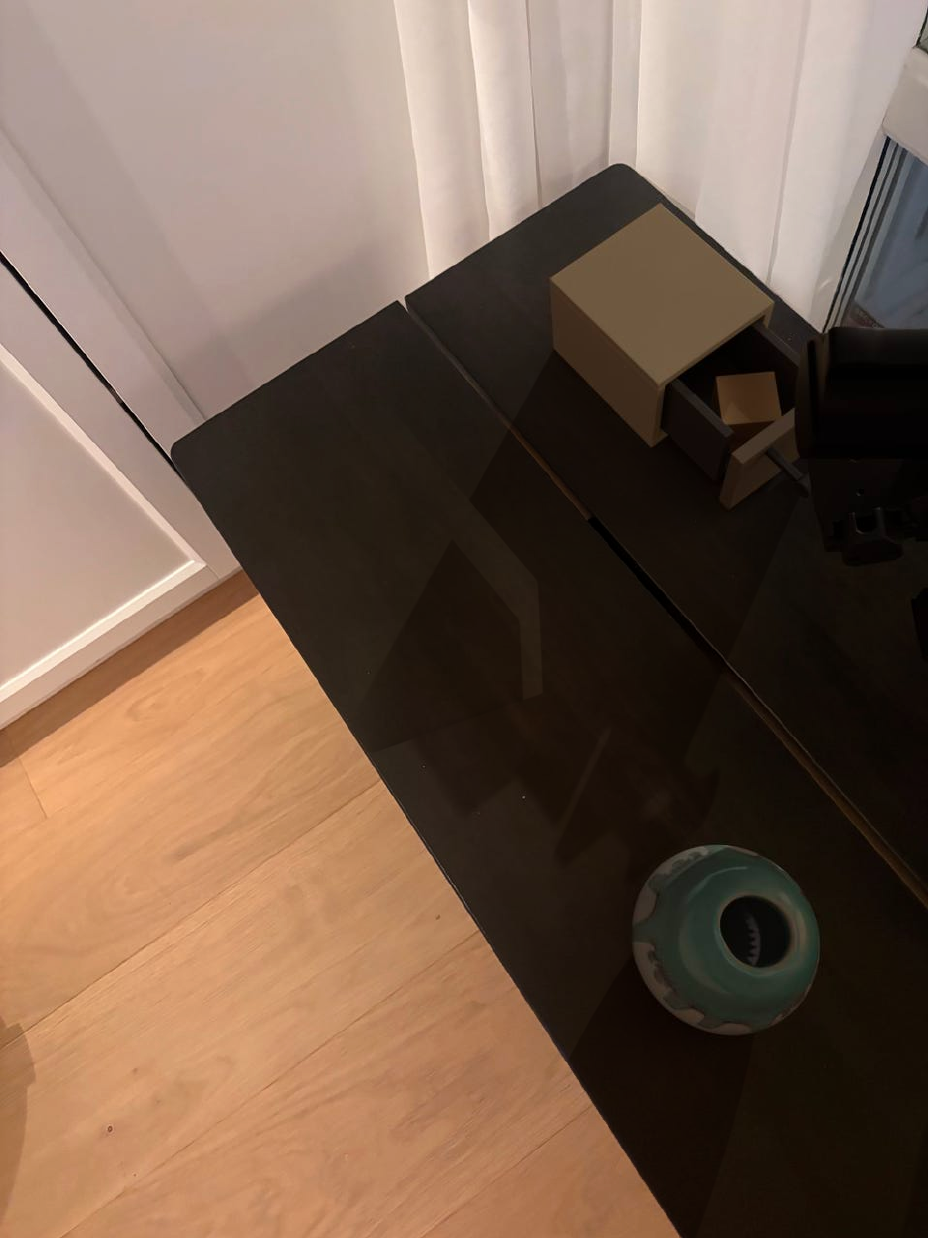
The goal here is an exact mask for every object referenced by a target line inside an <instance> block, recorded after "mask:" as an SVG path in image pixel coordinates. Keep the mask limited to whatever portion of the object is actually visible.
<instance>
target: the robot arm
mask: <svg viewBox="0 0 928 1238" xmlns="http://www.w3.org/2000/svg"><path fill="white" fill-rule="evenodd" d="M800 357H801V358H800V363H799V368H798V375H797V382H796V393H795V409H794V428H795V440H796V447H797V451H798V454H799V456H800V457H799V458H800V459H802V460H807V469H808V470H807V471H808V473H809V477H810V484H811V491H812V495H811V497H812V503H813V511H814V514H815V516H816V519H817V522H818V524H819V527H820V529H821V535H822V541H823V550H824V551H825V552H827V553H835V552H838V553H840V554H841V559H842V562H843V564H844V565H845V566H848V567H854V568H855V567H856V568H857V567H862V566H867V565H874V564H879V563H884V562H891V561H895V560H898V559H899V558H901V557H902V556H903V555H904V554H905V550H904V545H903V544H904V541H905V540H908V539H912V538H914V539H915V542H916V543H921V542H924V543H925V542H928V327H926V326H925V327H885V328H883V327H871V326H864V325H845V326H843V325H842V326H838V325H837V326H832V327H830V328H828V330H827V332H816V333H814V334H813V335H812V336H811V338H810V339H806V340H805V341H804V344H803V347H802V351H801V354H800ZM910 604H911V611H912V616H913V621H914V627H915V632H916V638H917V641H918V642H919V646H920V653H921V658H922V661H924V662H925V663H927V664H928V586H927V587H923V589H921V590H920V591H919V593H918V594H917V595H916V598H911V599H910Z"/></svg>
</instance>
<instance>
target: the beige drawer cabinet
mask: <svg viewBox="0 0 928 1238" xmlns="http://www.w3.org/2000/svg"><path fill="white" fill-rule="evenodd" d="M548 280H549V294H550V297H549V298H550V311H551V327H552V328H551V329H552V345H553V346H552V347H553V350H554V351H556V353H558V355H559V356H560V357H561V358H563V360H564V361H565V362H566V363H567V364H568V365H569V366H570V367H571V368H572V369H573V370H574V371H575V372H576V373H577V374H578V375H579V376H580V377H581V378H582V379H583V380H584V381H585V382H586V383H587V384H588V385H589V386H590V387H591V388H592V389H593V390H594V392H596V393H597V394H598V395H599V396H600V397H601V398H602V400H604V402H605V403H607V404H608V405H609V407H611V408H612V409H613V410H614V412H615V413H616V414H618V416H620V418H621V419H622V420H624V422H625V423H626V424H627V425H628V426H629V427H630V428H631V429H632V430H633V431H634V432H635V433H637V435H638V436H639V437H640V438H641V440H643V441H644V442H645V443H646V444H647V445H648V446H649V447H650V448H653V447H655V446H656V445H657V444H658V443H659V442H661V441H662V440H664V439H665V438H666V437H669V436H668V435H667V434H666V433H665V432H664V431H663V430H662V429H661V428H660V423H661V416H662V408H663V400H664V392H665V385H666V384H668V383H669V382H671V381H672V380H673V379H675V378H676V377H678V376H679V375H680V374H682V373H683V372H685V371H686V370H687V369H689V368H690V367H692V366H693V365H695V364H696V363H697V362H699V361H700V360H702V359H703V358H704V357H706V356H707V355H709V354H710V353H711V352H713V351H714V350H716V349H717V348H718V347H720V346H721V345H723V344H724V343H725V342H727V341H728V340H730V339H731V338H732V337H734V336H735V335H737V334H738V333H739V332H741V331H742V330H744V329H745V328H746V327H748V326H749V325H751V324H752V323H753V322H755V321H756V320H759V321H760V322H762V323H763V324H764V325H765V326H766V327H767V328H768V329H769V324H770V321H771V317H772V313H773V309H774V307H775V301H774V300H773V299H771V298H770V296H769V295H767V294H766V293H765V292H763V290H762V289H760V288H759V287H758V286H757V285H756V284H755V283H753V282H752V281H751V280H750V279H748V277H746V276H745V275H744V274H743V273H742V272H741V271H739V270H738V269H737V268H736V266H734V265H732V264H731V262H729V261H728V260H727V259H726V258H725V257H723V256H722V255H721V254H720V253H719V252H718V251H716V250H715V248H713V247H712V246H711V245H709V244H708V243H707V242H706V241H705V240H703V238H702V237H700V236H699V235H698V234H696V233H695V232H694V231H693V230H692V229H691V228H690V227H688V226H687V225H686V224H685V223H684V222H683V221H682V220H680V219H679V218H678V217H677V216H675V214H674V213H673V212H671V211H670V210H669V209H668V208H666V206H664V205H663V204H662V203H661V202H659V203H658V204H656V205H655V206H653V207H652V208H651V209H649V210H647V211H646V212H644V213H643V214H641V215H640V216H638V217H637V218H636V219H634V220H633V221H631V222H629V224H627V225H626V226H624V227H622V228H621V229H620V230H618V231H617V232H615V233H614V234H612V235H611V236H609V237H608V238H607V239H604V241H602V242H601V243H599V244H598V245H596V246H595V247H593V248H592V249H590V250H589V251H588V252H586V253H584V254H583V255H582V256H580V257H579V258H578V259H576V260H574V261H573V262H572V263H570V264H569V265H567V266H566V267H564V268H563V269H561V270H559V272H557V273H555V274H554V275H552V276H551V277H550V278H549V279H548Z"/></svg>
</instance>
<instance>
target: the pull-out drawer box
mask: <svg viewBox="0 0 928 1238" xmlns="http://www.w3.org/2000/svg"><path fill="white" fill-rule="evenodd" d="M800 358H801V355H799V354H798V353H797V352H796V351H794V350H793V348H791V346H790V345H788V344H787V343H786V342H784V341H783V340H782V339H781V338H780V337H779V336H777V335H776V334H775V333H774V332H773V331H772V330H771V329H770V328H769V327H768V328H767V327H766V326H765V325H764V324H763V323H762V322H760V321H759V320H756V321H755V322H753V323H752V324H751V325H749V326H748V327H746V328H745V329H744V330H742V331H741V332H739V333H738V334H737V335H735V336H734V337H732V338H731V339H730V340H728V341H727V342H725V343H724V344H723V345H721V346H720V347H718V348H717V349H716V350H714V351H713V352H711V353H710V354H709V355H707V356H706V357H704V358H703V359H702V360H700V361H699V362H697V363H696V364H695V365H693V366H692V367H690V368H689V369H687V370H686V371H685V372H683V373H682V374H680V375H679V376H678V377H676V378H675V379H673V380H672V381H671V382H669V383H668V384H666V385H665V392H664V400H663V408H662V416H661V423H660V428H661V429H662V430H663V431H664V432H665V433H666V434H667V435H668V436H667V437H669V438H670V439H671V440H672V441H673V442H674V443H675V444H676V445H677V446H678V447H679V448H680V449H681V450H682V451H683V452H684V453H685V454H686V455H687V457H688V458H690V459H691V460H692V461H693V462H694V463H695V464H696V465H697V466H698V467H699V468H700V469H701V470H702V471H703V472H704V473H705V474H706V475H707V476H708V477H709V478H710V479H711V480H712V481H713V482H715V483H716V482H717V481H718V480H720V479H721V478H723V477H724V479H723V483H722V485H721V490H720V493H719V497H718V501H719V503H721V504H722V505H723V506H724V507H725V508H726V509H727V510H730V509H732V508H733V507H735V506H736V505H737V504H738V503H740V502H742V501H743V500H745V498H747V497H748V496H750V495H751V494H752V493H753V492H755V491H757V489H759V488H760V487H762V486H763V485H765V484H766V483H767V482H769V480H771V479H772V478H774V477H775V476H777V475H778V474H779V473H780V472H783V474H785V476H787V477H788V478H789V479H790V481H792V482H793V483H794V489H795V491H796V493H797V494H798V495H799V496H800V497H802V498H804V499H808V498H809V497H811V496H812V491H811V484H810V477H809V472H807V474H805V475H803V474H802V472H800V471H799V470H798V469H797V468H796V467H795V466H794V465H793V464H792V463H794V462H795V461H797V460H798V459H799V458H800V456H799V454H798V451H797V447H796V440H795V428H794V409H795V393H796V382H797V375H798V368H799V363H800ZM773 371H774V373H775V379H776V385H777V391H778V397H779V404H780V410H781V416H782V417H781V418H779V419H778V420H777V421H775V422H774V423H773V424H771V425H770V426H768V427H767V428H766V429H764V430H763V431H762V432H760V433H759V434H757V435H756V436H755V437H753V438H752V439H751V440H749V441H748V442H747V443H745V444H744V445H742V446H741V447H740V448H738V449H737V450H736V451H734V452H733V453H732V454H728V452H729V449H730V445H731V441H732V438H733V434H734V432H733V431H732V430H731V429H730V428H729V427H728V426H727V425H726V424H725V423H724V422H723V421H722V420H721V419H720V418H719V417H718V416H717V415H716V414H715V413H714V412H713V411H711V410H710V409H709V407H710V402H711V397H712V393H713V388H714V383H715V378H716V377H717V376H728V375H739V374H751V373H762V372H773Z"/></svg>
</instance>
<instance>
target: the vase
mask: <svg viewBox="0 0 928 1238" xmlns="http://www.w3.org/2000/svg"><path fill="white" fill-rule="evenodd" d="M631 919H632V920H631V929H630V938H631V947H632V949H631V951H632V955H633V959H634V962H635V965H636V968H637V970H638V972H639V974H640V976H641V979H642V980H643V982H644V984H645V986H646V987H647V989H648V990H649V992H650V993H651V994H652V995H653V997H654V998H655V999H656V1001H658V1003H659V1004H660V1005H661V1006H663V1008H664V1009H666V1010H667V1011H668V1012H669V1013H670V1014H672V1016H674V1017H676V1018H677V1019H678V1020H679V1021H682V1022H683V1023H684V1024H687V1025H688V1026H690V1027H693V1028H695V1029H698V1030H700V1031H704V1032H707V1033H710V1034H716V1035H719V1036H720V1035H721V1036H745V1035H749V1034H754V1033H757V1032H761V1031H764V1030H767V1029H769V1028H771V1027H773V1026H776V1025H777V1024H779V1023H781V1022H782V1021H784V1020H785V1019H786V1018H787V1017H789V1016H790V1015H791V1014H792V1013H794V1011H795V1010H797V1008H798V1007H799V1006H800V1005H802V1002H803V1001H804V1000H805V998H806V997H807V996H808V994H809V992H810V990H811V988H812V986H813V983H814V981H815V979H816V976H817V971H818V968H819V962H820V950H821V942H820V931H819V930H820V929H819V926H818V921H817V918H816V916H815V913H814V910H813V908H812V905H811V903H810V901H809V899H808V897H807V896H806V894H805V893H804V891H803V889H802V888H801V887H800V885H799V884H798V883H797V882H796V881H795V879H793V878H792V877H791V876H790V874H789V873H788V872H787V871H785V870H784V869H783V868H782V867H780V866H779V865H778V864H776V863H775V862H774V861H772V860H770V859H768V858H767V857H765V856H763V855H761V854H759V853H757V852H755V851H751V850H750V849H746V848H742V847H739V846H732V845H726V844H725V845H724V844H708V845H701V846H695V847H693V848H689V849H686V850H683V851H681V852H679V853H677V854H675V855H673V856H671V857H669V858H668V859H666V860H665V861H664V862H662V863H661V864H660V865H659V866H657V867H656V869H655V870H653V872H652V873H651V874H650V876H648V878H647V879H646V881H645V882H644V884H643V885H642V888H641V889H640V891H639V893H638V895H637V897H636V900H635V903H634V908H633V913H632V918H631Z"/></svg>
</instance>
